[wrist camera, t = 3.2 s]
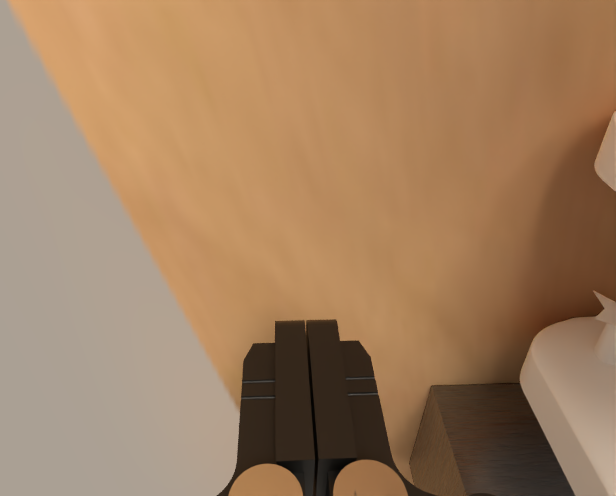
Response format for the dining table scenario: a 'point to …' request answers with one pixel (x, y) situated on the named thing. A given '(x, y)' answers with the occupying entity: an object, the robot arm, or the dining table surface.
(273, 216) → the dining table surface
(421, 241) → the dining table surface
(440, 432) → the block
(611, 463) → the cable organizer
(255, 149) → the dining table surface
